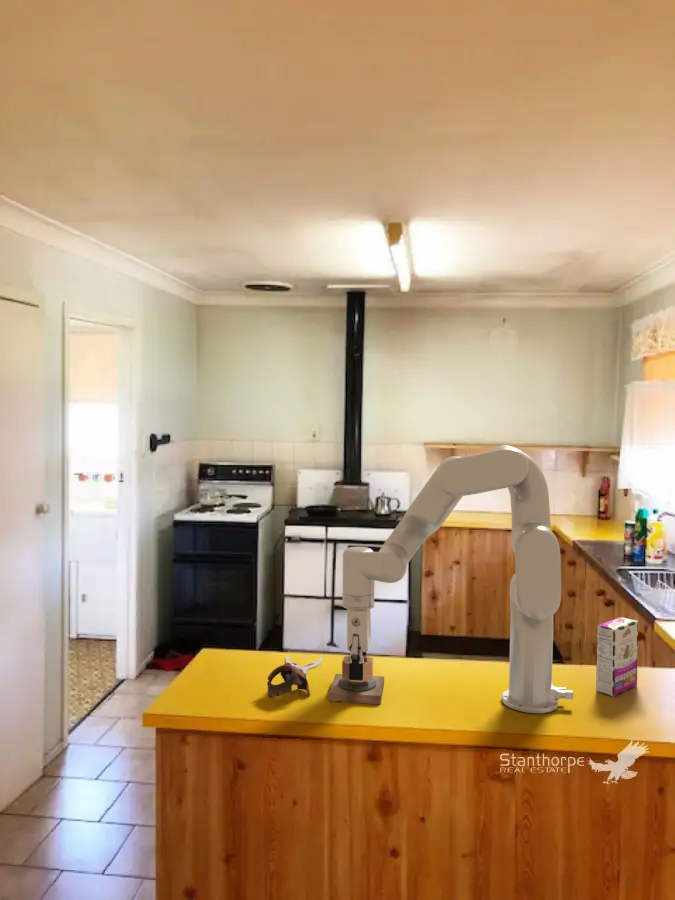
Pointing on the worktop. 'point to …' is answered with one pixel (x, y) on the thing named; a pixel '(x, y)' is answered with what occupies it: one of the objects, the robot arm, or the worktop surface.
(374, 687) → the shaft block
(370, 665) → the ring
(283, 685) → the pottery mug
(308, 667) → the pliers
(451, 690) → the worktop surface
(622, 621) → the candy bar box
